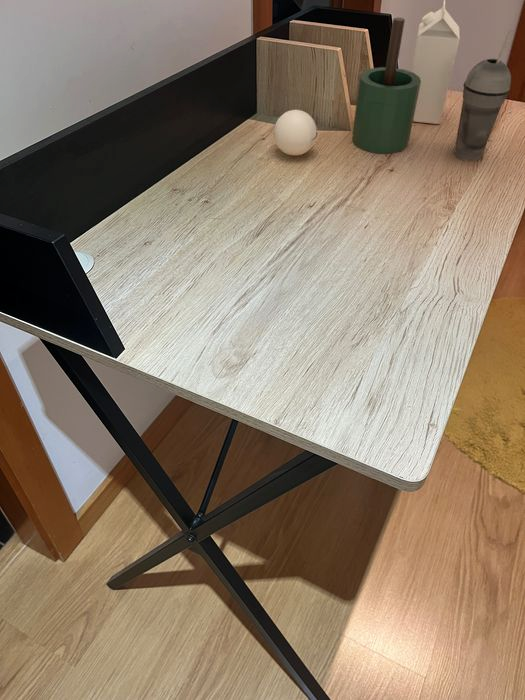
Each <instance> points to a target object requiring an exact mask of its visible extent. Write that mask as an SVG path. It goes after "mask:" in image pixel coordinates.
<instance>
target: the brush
mask: <svg viewBox="0 0 525 700" xmlns="http://www.w3.org/2000/svg"><path fill="white" fill-rule="evenodd" d="M405 21H406V20H405V18H403V17H393V19H392V25H391V31H390V38H389V44H388V51H387V56H386V63H385V67H386V69H385V75H384V82H383V85H385V86H394V81H395V75H396V69H397V68H398V63H399V58H400V57H399V56H400V50H401V45H402V39H403V35H404V28H405Z"/></svg>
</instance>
